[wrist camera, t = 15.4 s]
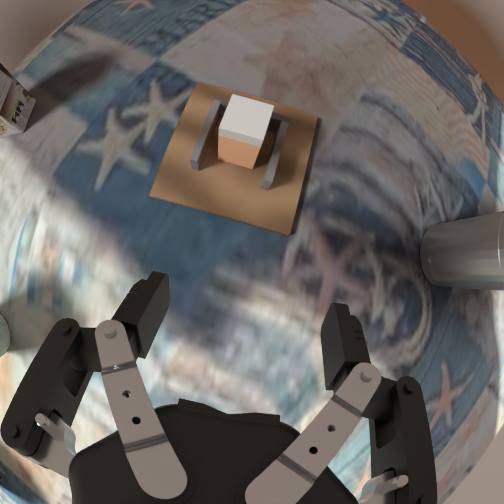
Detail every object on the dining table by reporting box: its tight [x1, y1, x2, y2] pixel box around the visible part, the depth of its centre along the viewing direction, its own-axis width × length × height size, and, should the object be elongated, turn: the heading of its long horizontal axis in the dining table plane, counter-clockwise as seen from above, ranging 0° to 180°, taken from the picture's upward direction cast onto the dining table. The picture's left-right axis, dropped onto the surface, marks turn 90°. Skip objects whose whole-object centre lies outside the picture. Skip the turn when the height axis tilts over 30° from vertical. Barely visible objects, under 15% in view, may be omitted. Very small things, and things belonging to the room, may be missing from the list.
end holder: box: [149, 83, 318, 236], centre depth 28 cm, size 16×16×4 cm
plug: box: [218, 94, 274, 169], centre depth 26 cm, size 4×4×8 cm
